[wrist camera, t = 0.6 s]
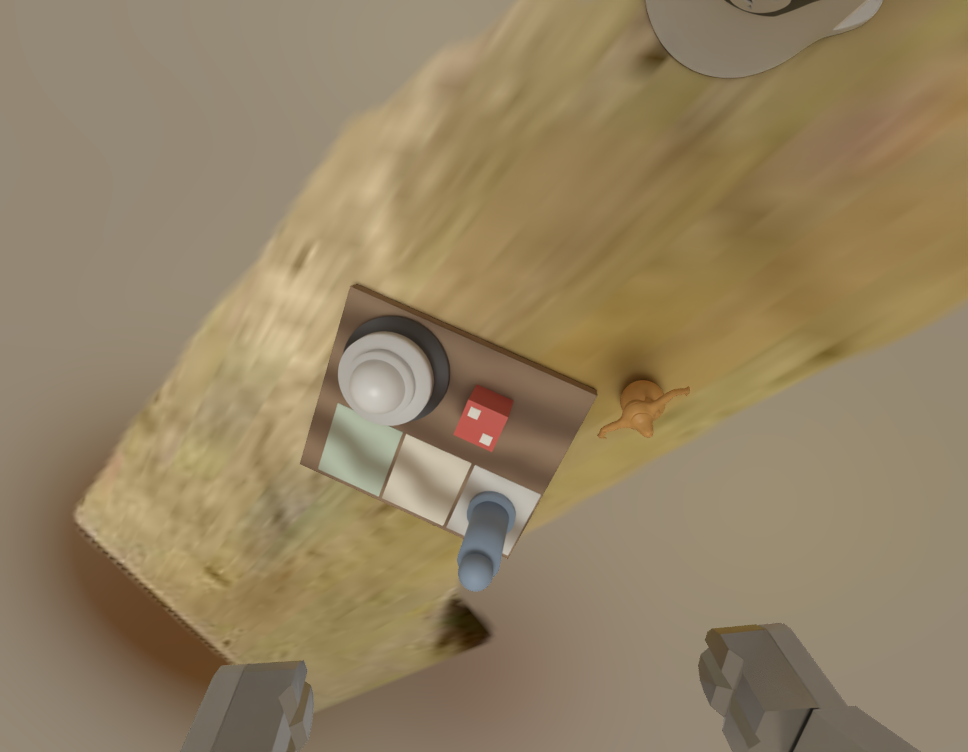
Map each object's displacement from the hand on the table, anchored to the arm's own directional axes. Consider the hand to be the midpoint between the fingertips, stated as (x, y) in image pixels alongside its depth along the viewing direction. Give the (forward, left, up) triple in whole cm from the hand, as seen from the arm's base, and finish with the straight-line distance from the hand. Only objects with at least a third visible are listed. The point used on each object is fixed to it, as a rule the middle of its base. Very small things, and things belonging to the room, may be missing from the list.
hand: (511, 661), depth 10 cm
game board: (+17, -6, -38) cm, 42 cm away
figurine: (+4, +10, -38) cm, 39 cm away
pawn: (+23, +3, -36) cm, 43 cm away
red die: (+12, -2, -36) cm, 38 cm away
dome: (+12, -12, -34) cm, 38 cm away
